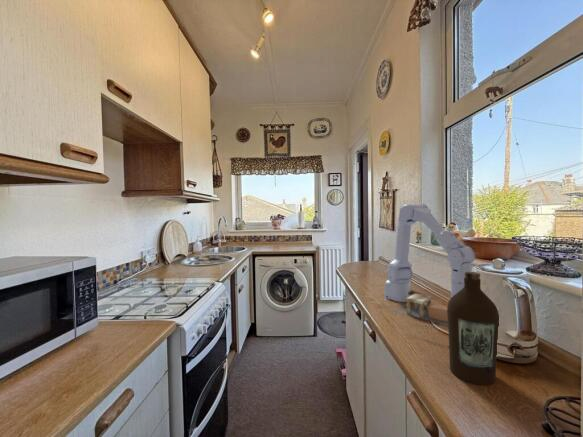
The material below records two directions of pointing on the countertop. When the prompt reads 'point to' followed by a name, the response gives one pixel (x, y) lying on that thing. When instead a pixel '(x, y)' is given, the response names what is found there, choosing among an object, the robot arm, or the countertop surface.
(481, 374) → the olive oil
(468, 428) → the countertop surface
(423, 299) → the wooden tunnel
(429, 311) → the terracotta block
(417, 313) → the board
